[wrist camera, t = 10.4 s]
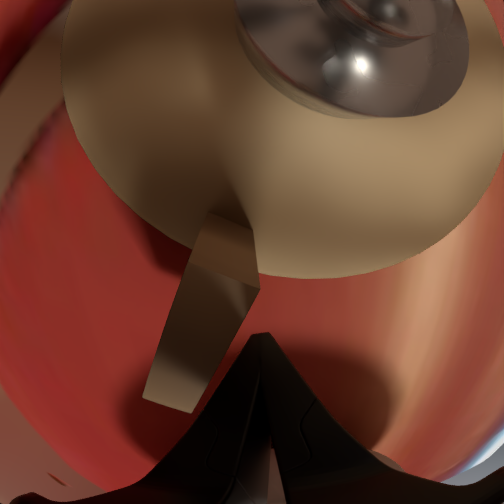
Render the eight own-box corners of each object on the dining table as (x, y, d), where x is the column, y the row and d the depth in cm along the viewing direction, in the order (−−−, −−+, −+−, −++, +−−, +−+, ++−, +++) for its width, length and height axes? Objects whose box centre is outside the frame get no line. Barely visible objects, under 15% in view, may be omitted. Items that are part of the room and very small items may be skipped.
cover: (219, -42, 6) (210, -112, 2) (398, -35, 5) (451, -74, 1) (256, 130, 8) (268, 126, 4) (441, 119, 8) (522, 126, 4)
